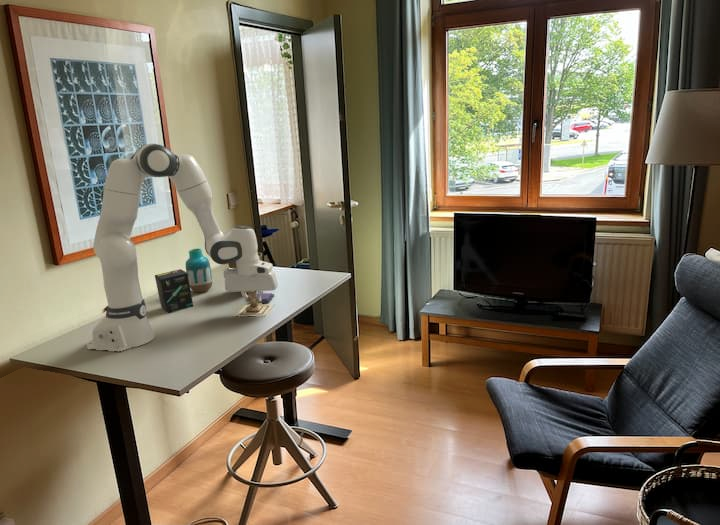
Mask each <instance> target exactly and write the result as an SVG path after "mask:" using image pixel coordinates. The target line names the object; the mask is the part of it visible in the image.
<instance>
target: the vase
mask: <svg viewBox="0 0 720 525" xmlns="http://www.w3.org/2000/svg"><path fill="white" fill-rule="evenodd" d="M188 254H189V256H188V258H187V260H186V261H185V272H186V273H188V279H189V285H190V290H192V291H193V292H195V293H204V292H207V291H208V290H210V289H211V288H212V286H213V274H212V268H211V264H210V260H209V258H208V257H206V256H204V254H203V250H202V248H192V249H189V250H188Z"/></svg>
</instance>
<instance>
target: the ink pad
mask: <svg viewBox="0 0 720 525" xmlns="http://www.w3.org/2000/svg"><path fill="white" fill-rule="evenodd" d="M256 294H257V296H259V294H260V293H256ZM273 297H275V293H272V292H270V293H269V292H268V293H264V292H263V293H262V296H261V301H260V302H258V303H267V304H270V303H271V301H272V300H273V299H274V298H273ZM272 298H273V299H272ZM248 303H249V304H250V302H248Z"/></svg>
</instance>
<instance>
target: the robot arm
mask: <svg viewBox="0 0 720 525" xmlns="http://www.w3.org/2000/svg"><path fill="white" fill-rule="evenodd" d="M147 177H150V178H164V177H165V178H166V177H167V178H169V179H170V181H171V182H172V183H173V185H174V187H175V190H176V192H177V194H178V196H179V198H180V200H181V201H182V202H183V204H184V206H185V207H186V208H187V209H188V210H189V211H190V212H191V213H192V214H193V215H194V217H195V218H196V221H197V223H198V225H199V227H200V229H201V231H202V233H203V236H204V249H205V252H206V254H207V255H208V256H209V257H210V258H211V259H212V261H213V262H214V263H216V264H218V265H227V264H228V263H231V262H234V261H236V266H237V268H229V267H227V268H226V269H224V270H223V278H224V288H225V291H226V292H227V293H237V292H240V294H241V295H242V297H243V299H244V301H245V303H249V302H250V301H249V295H248V293H246V292H247V291H256V292H257V294H259V296H257V297H256V301H257V302H260V301H261V296H262V294H263V293H264V292H267V291H275V290H276V289H277V288H278V287H279V284H278V278H277V274H276V272H275V271H274V270H273V268H274V266H273V263H272V262H271V263H270V262H267V261H263V260H262V261H261V260H259V256H258V253H257V252H258V249H259V248H258V247H259V245H258V240H257V236H256V235H257V234H256V233H255V230H254V229H253V228H252V227H251V226H248V225H234V226H232V229H230V230H229V231H227V233H223V231H222V230H221V228H220V227H219V224H218V221H217V219H216V218H215V214H214V212H213V209H212V208H213V207H212V204H213V203H212V202H213V193H212V189H211V186H210V182H209V181H208V179H207V176H206V175H205V172H204V171H203V169H202V168H201V166H200V164H199V162H197V159H196V158H195V157H194V156H193V155H192V154H191V155H190V154H186V153H185V154H178V155H177V154H175V153H174V152H172V151H171V150H170V149H169V148H167V147H166V146H164V145H161V144H157V143H148V144H145V145H143V146H141V147H140V148H137V150H136V151H135V152H134V154H132V156H131V157H130V158H125V157H124V158H123V157H121V158H117V159H114V160H113V161H112V162H111V163H110V164H109V168H108V171H107V174H106V178H105V183H104V187H103V188H104V189H103V196H102V202H101V209H100V215H99V217H98V218H99V219H98V222H97V226H96V230H95V235H94V240H93V245H92V246H93V247H92V248H93V252H94V254H95V255H96V256H97V257H98V259H99V262H100V265H101V269H102V278H103V288H104V291H105V297H106V301H107V306H105V307H104V308H103V309H102V312H101V313H103V314H104V313H105V312H106V313H105V316H104V318H102V320H101V321H99V323H97V324H96V325H95V326H94V328H93V330H92V339H91V340H90V341H89V342H88V343H87V344H86V349H87V348H89V349H88V350H91V349H96V350H95V351H102V350H108V351H107V352H114V351H118V352H117V353H119V351H121V352H124V351H127V350H129V349H133V348H137V347H140V346H142V345H145V344H147V343H149V342H151V341H152V340H154V339H155V337H156V334H155V332H154V331H153V328H152V326H151V324H150V321H149V319H148V316H147V306H146V303H145V302H146V301H145V299H144V298H143V293H142V290H141V289H142V288H141V285H140V284H141V283H140V279H139V266H138V257H137V248H136V245H135V243H134V242H133V241H132V240H131V237H132V236H131V235H132V233H133V229H134V225H135V222H136V220H137V218H138V212H139V205H140V199H141V191H142V186H143V182H144V181H145V179H146V178H147ZM228 265H229V264H228ZM132 347H133V348H132ZM126 349H127V350H126ZM123 350H124V351H123Z"/></svg>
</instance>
